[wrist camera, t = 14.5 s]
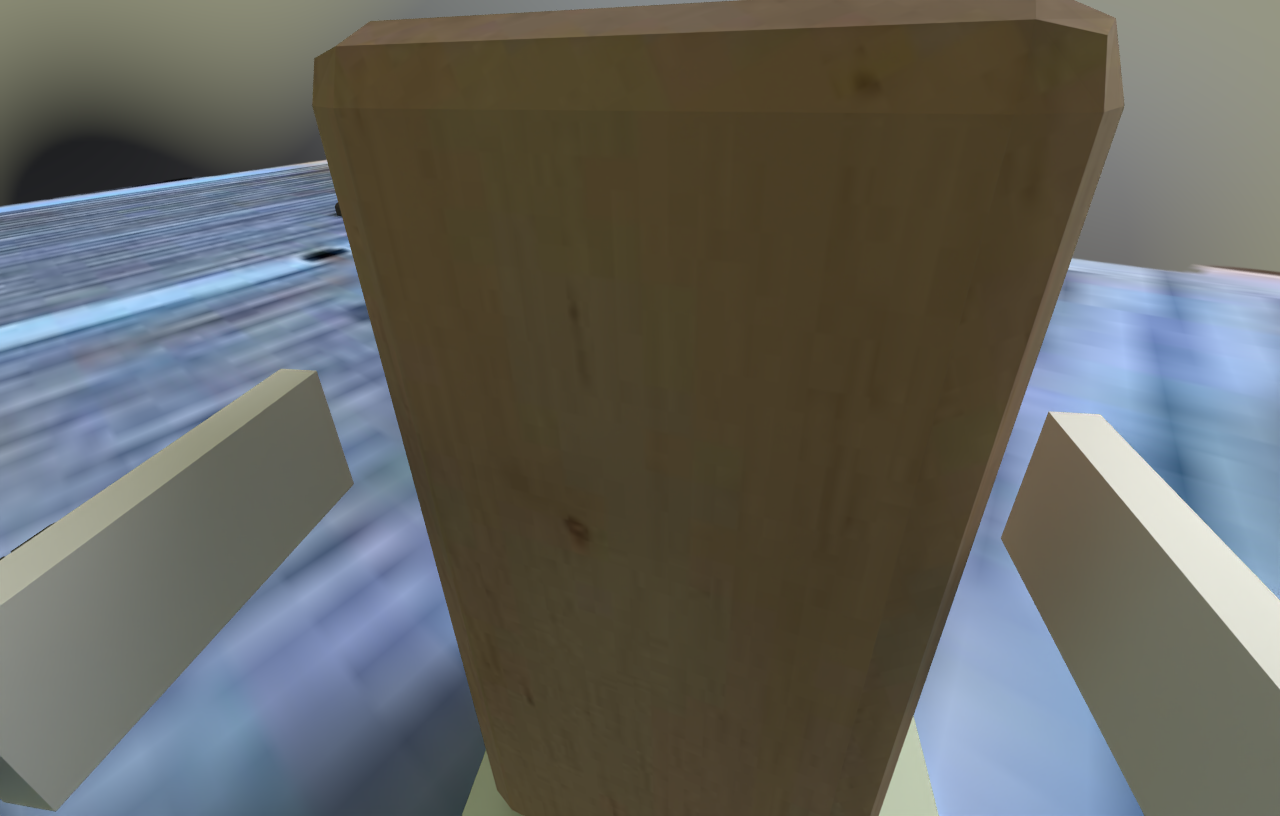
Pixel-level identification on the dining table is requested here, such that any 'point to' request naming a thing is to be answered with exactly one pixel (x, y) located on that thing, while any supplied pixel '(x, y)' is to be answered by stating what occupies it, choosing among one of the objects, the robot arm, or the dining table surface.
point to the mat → (902, 812)
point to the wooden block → (711, 360)
